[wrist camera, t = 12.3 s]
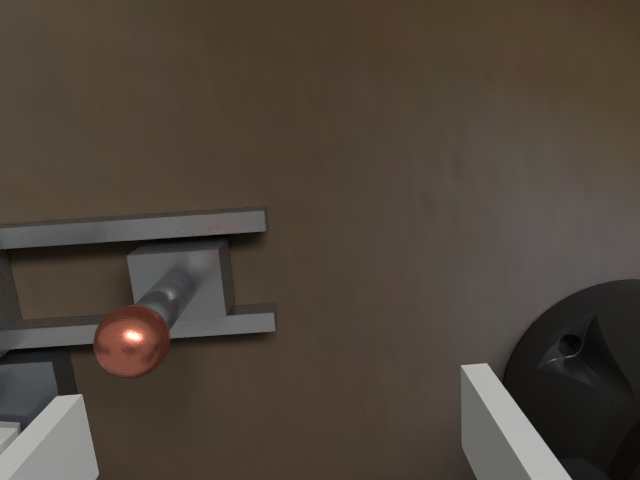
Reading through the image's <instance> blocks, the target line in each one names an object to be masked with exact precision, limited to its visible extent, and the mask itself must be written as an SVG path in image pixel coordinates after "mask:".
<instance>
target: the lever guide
mask: <svg viewBox="0 0 640 480" xmlns="http://www.w3.org/2000/svg"><path fill="white" fill-rule="evenodd" d="M267 228H268V216H267V206H260V207H245V208H231V209H216V210H201V211H186V212H172V213H157V214H142V215H127V216H113V217H98V218H83V219H68V220H53V221H39V222H24V223H9V224H0V357H1V356H3V355H4V354H5V353H7V352H8V351H9V350H11V349H21V348H36V347H50V346H65V345H80V344H93V340H94V334H95V331H96V329H97V327H98V325H99V324H100V322H101V321H102V320H103V319H104V318H105V317H106V316H107V315H108V314H107V315H92V316H77V317H63V318H48V319H33V320H22V316H21V311H20V307H19V303H18V298H17V294H16V289H15V285H14V280H13V276H12V271H11V267H10V262H9V258H8V254H7V249H11V248H26V247H41V246H55V245H70V244H85V243H100V242H114V241H129V240H144V239H159V238H173V237H188V236H203V235H218V234H232V233H247V232H262V231H266V230H267ZM276 325H277V313H276V303H269V304H254V305H240V306H232V307H231V309H230V311H229V313H228V316H227V318H221V319H206V320H191V321H177V322H175V324H174V325H173V326H172V328H171V329H170V338H183V337H198V336H213V335H227V334H242V333H257V332H272V331H276Z"/></svg>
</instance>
